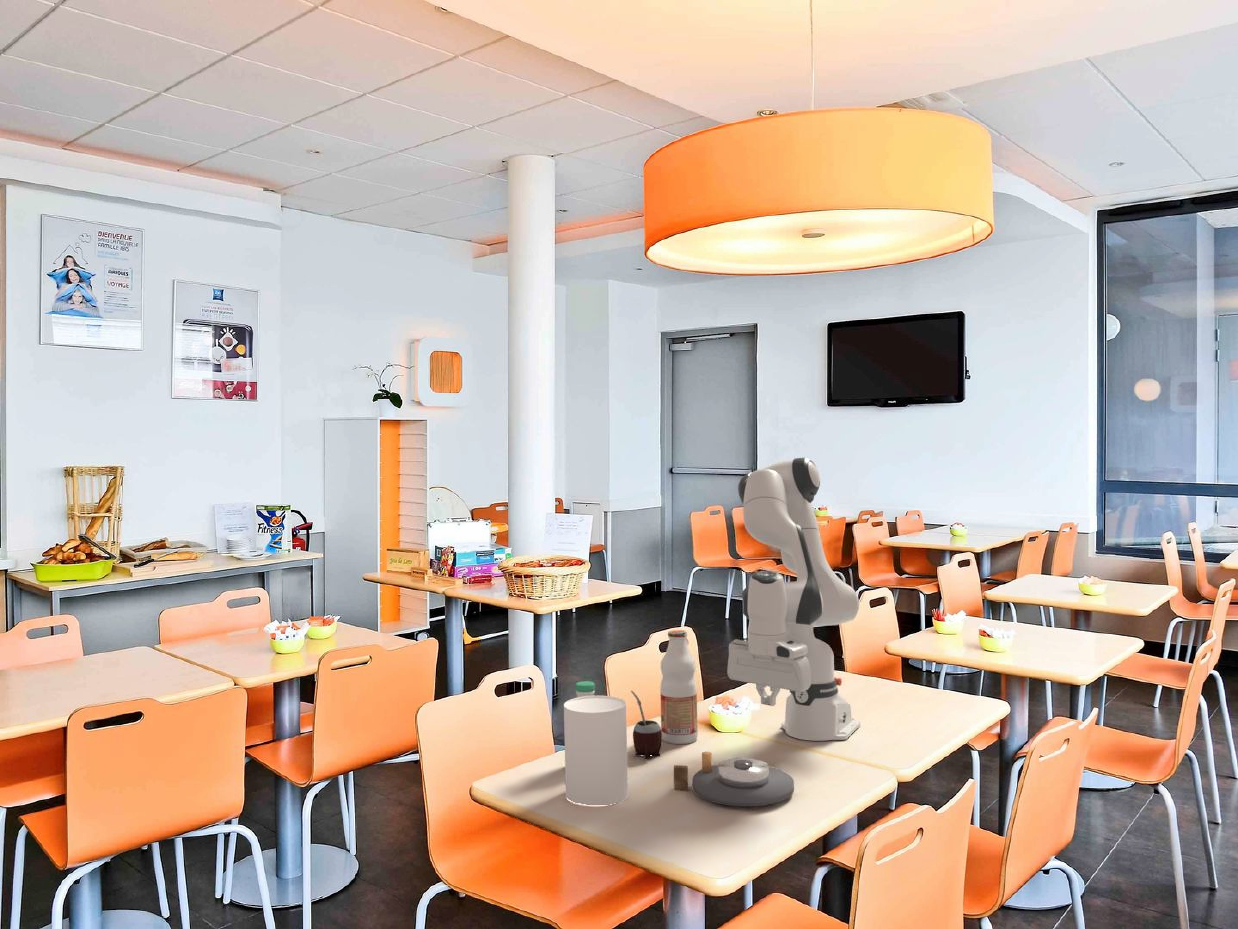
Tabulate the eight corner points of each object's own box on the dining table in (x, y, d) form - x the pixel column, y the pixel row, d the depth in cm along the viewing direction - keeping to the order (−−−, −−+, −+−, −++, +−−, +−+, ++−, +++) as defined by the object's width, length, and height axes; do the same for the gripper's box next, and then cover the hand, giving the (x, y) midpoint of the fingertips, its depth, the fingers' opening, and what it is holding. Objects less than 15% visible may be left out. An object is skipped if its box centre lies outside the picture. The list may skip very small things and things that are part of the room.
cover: (736, 768, 210) (736, 751, 210) (778, 778, 203) (778, 761, 203) (708, 781, 202) (707, 764, 202) (750, 793, 194) (750, 775, 194)
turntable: (729, 763, 218) (728, 739, 218) (812, 783, 203) (812, 758, 203) (672, 790, 201) (671, 765, 201) (758, 814, 187) (758, 787, 187)
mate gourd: (660, 761, 223) (659, 699, 223) (628, 760, 224) (626, 698, 224) (663, 751, 231) (662, 691, 230) (632, 750, 232) (631, 690, 232)
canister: (639, 790, 204) (637, 700, 204) (607, 811, 193) (605, 715, 192) (587, 780, 211) (585, 693, 211) (553, 800, 199) (551, 707, 199)
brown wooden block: (688, 788, 205) (687, 765, 205) (687, 790, 203) (687, 768, 203) (674, 787, 205) (674, 765, 205) (674, 790, 204) (673, 767, 204)
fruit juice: (678, 747, 233) (676, 636, 233) (653, 739, 240) (651, 631, 240) (705, 739, 239) (703, 631, 238) (680, 731, 246) (678, 626, 246)
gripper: (721, 640, 214) (722, 700, 215) (800, 652, 201) (800, 716, 201) (736, 636, 219) (737, 694, 219) (814, 647, 206) (814, 709, 206)
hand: (768, 704), depth 210 cm, fingers closed
